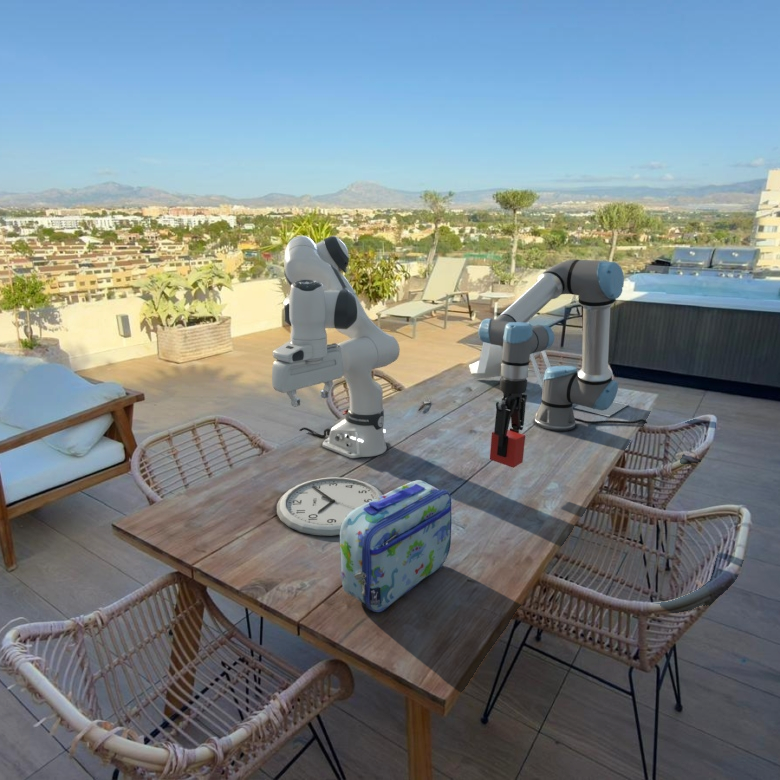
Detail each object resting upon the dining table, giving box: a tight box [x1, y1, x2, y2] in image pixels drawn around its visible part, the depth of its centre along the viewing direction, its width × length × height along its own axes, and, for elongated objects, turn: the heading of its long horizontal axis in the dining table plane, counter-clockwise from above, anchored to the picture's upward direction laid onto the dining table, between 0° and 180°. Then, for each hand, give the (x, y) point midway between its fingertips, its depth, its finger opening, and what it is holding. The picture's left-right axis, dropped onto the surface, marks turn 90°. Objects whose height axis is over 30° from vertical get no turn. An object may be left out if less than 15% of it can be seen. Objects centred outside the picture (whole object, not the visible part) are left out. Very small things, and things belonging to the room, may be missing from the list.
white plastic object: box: [468, 320, 552, 391], centre depth 255 cm, size 37×45×31 cm
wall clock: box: [276, 476, 385, 537], centre depth 142 cm, size 30×2×30 cm
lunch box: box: [339, 479, 452, 613], centre depth 109 cm, size 26×11×21 cm, turn 134°
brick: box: [489, 429, 526, 469], centre depth 155 cm, size 5×8×9 cm
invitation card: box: [573, 400, 629, 418], centre depth 226 cm, size 21×1×15 cm
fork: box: [418, 396, 432, 411], centre depth 223 cm, size 3×16×2 cm, turn 160°
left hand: (310, 401), depth 132 cm, fingers open, 8 cm apart
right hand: (507, 452), depth 155 cm, fingers closed on brick, 5 cm apart
